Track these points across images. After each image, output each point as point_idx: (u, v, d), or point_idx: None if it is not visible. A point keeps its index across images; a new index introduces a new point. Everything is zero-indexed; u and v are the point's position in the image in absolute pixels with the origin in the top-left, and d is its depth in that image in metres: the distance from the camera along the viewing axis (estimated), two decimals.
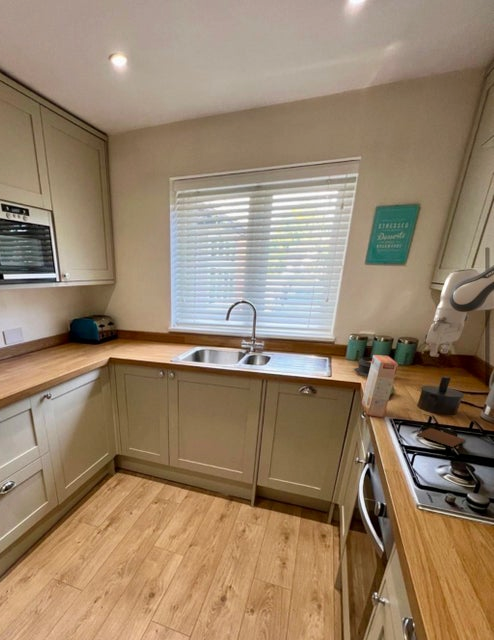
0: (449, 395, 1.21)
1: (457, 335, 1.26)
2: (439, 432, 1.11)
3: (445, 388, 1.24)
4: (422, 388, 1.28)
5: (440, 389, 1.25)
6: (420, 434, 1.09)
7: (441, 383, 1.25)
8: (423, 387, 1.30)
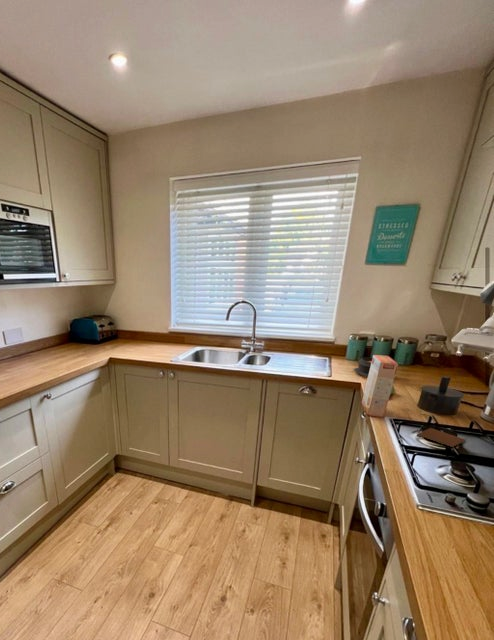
0: (449, 395, 1.21)
1: None
2: (439, 432, 1.11)
3: (445, 388, 1.24)
4: (422, 388, 1.28)
5: (440, 389, 1.25)
6: (420, 434, 1.09)
7: (441, 383, 1.25)
8: (423, 387, 1.30)
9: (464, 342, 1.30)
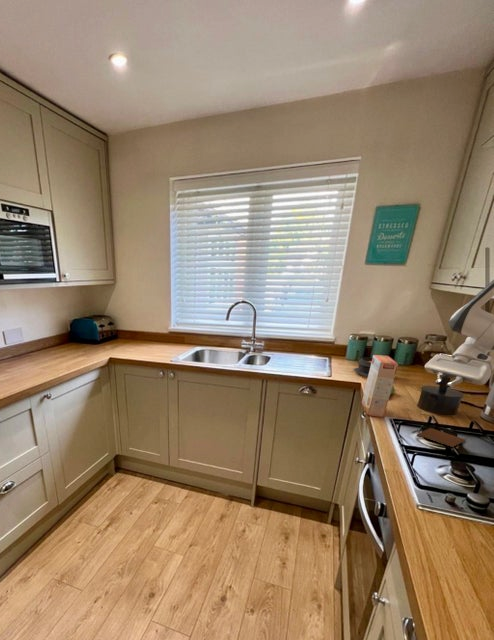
0: (449, 395, 1.21)
1: (477, 373, 1.18)
2: (439, 432, 1.11)
3: (445, 388, 1.24)
4: (422, 388, 1.28)
5: (440, 389, 1.25)
6: (420, 434, 1.09)
7: (441, 383, 1.25)
8: (423, 387, 1.30)
9: (436, 369, 1.28)
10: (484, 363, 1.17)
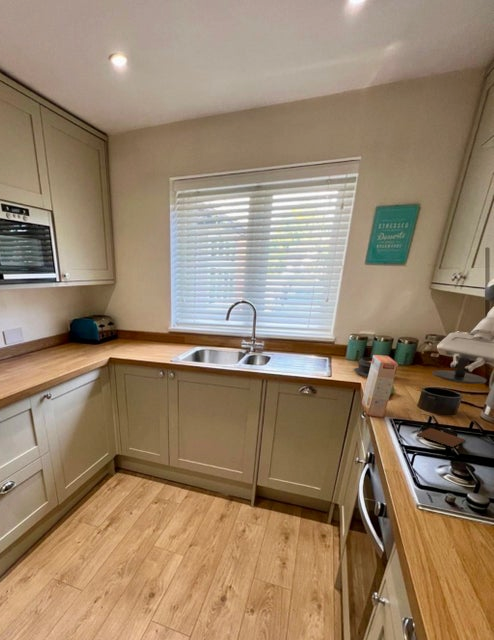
0: (468, 380, 0.98)
1: None
2: (439, 432, 1.11)
3: (463, 372, 1.01)
4: (434, 373, 1.06)
5: (457, 373, 1.02)
6: (420, 434, 1.09)
7: (458, 366, 1.02)
8: (435, 372, 1.07)
9: (452, 349, 1.06)
10: None
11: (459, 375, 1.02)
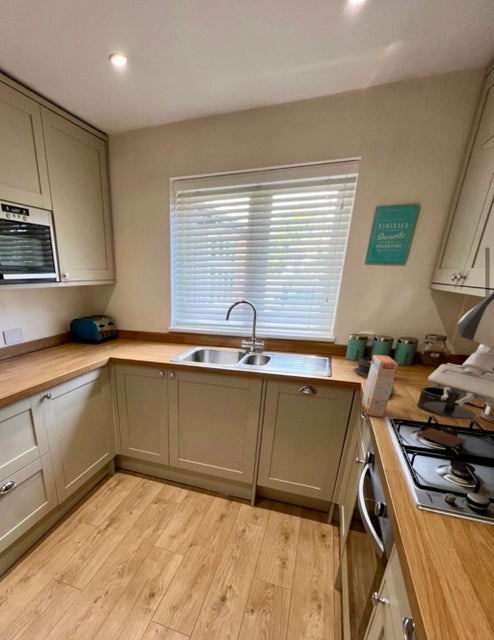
0: (458, 415, 0.99)
1: None
2: (439, 432, 1.11)
3: (453, 406, 1.02)
4: (425, 405, 1.06)
5: (447, 407, 1.03)
6: (420, 434, 1.09)
7: (448, 400, 1.03)
8: (426, 404, 1.08)
9: (442, 382, 1.06)
10: None
11: (449, 409, 1.03)
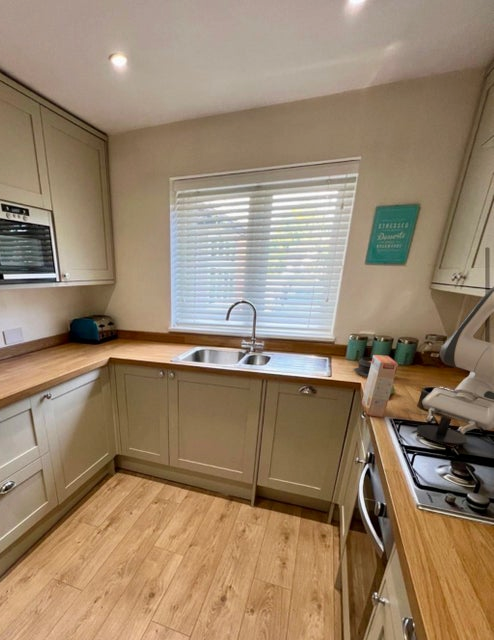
0: (449, 441, 1.02)
1: (485, 415, 0.98)
2: None
3: (445, 431, 1.05)
4: (418, 429, 1.09)
5: (439, 432, 1.06)
6: (420, 434, 1.09)
7: (440, 425, 1.06)
8: (419, 428, 1.11)
9: (436, 406, 1.09)
10: (493, 403, 0.98)
11: (441, 434, 1.06)
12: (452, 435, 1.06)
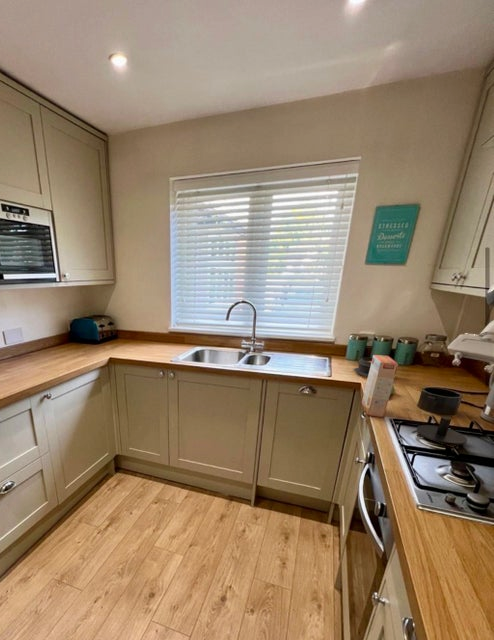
0: (449, 441, 1.02)
1: None
2: None
3: (445, 431, 1.05)
4: (418, 429, 1.09)
5: (439, 432, 1.06)
6: (420, 434, 1.09)
7: (440, 425, 1.06)
8: (419, 428, 1.11)
9: (462, 350, 1.14)
10: None
11: (441, 434, 1.06)
12: (452, 435, 1.06)
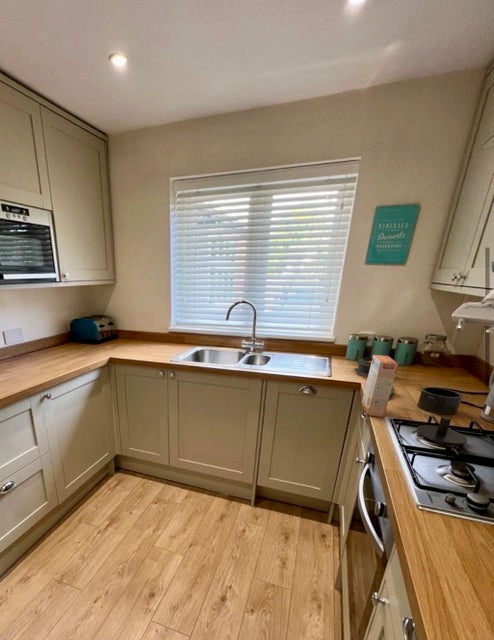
0: (449, 441, 1.02)
1: None
2: None
3: (445, 431, 1.05)
4: (418, 429, 1.09)
5: (439, 432, 1.06)
6: (420, 434, 1.09)
7: (440, 425, 1.06)
8: (419, 428, 1.11)
9: (465, 316, 1.23)
10: None
11: (441, 434, 1.06)
12: (452, 435, 1.06)
